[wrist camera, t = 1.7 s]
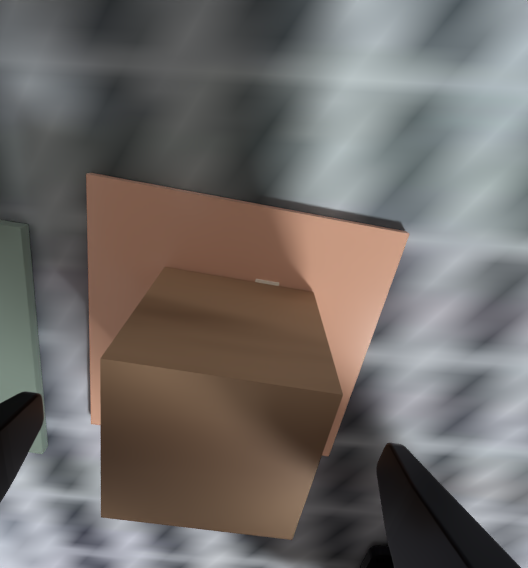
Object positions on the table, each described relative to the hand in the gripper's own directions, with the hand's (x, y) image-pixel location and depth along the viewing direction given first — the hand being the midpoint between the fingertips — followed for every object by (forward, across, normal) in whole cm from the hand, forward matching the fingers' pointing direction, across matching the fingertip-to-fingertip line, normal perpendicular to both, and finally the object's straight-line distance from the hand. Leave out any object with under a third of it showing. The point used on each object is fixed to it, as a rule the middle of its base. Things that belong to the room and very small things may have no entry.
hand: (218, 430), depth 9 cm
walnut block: (+4, 0, 0) cm, 4 cm away
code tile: (+4, 0, 0) cm, 4 cm away
